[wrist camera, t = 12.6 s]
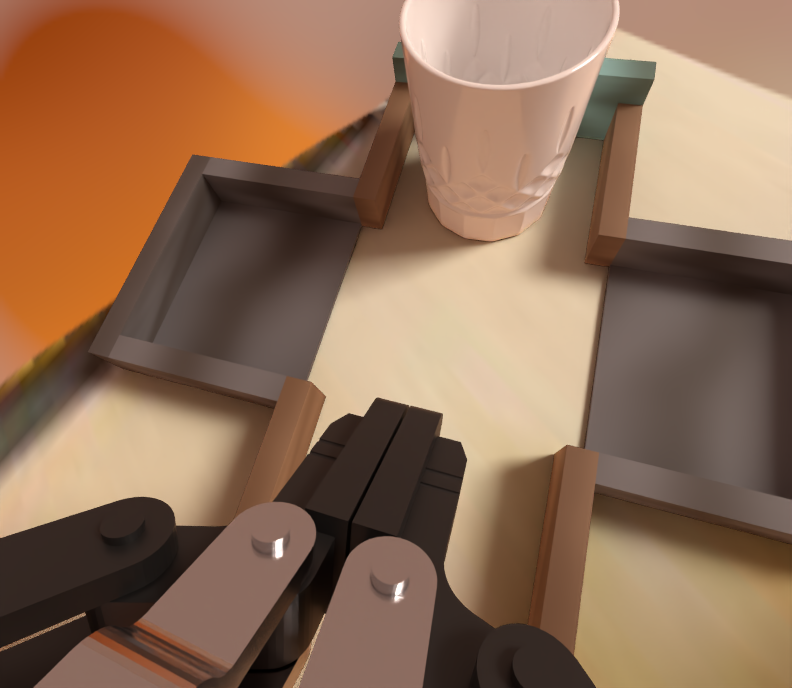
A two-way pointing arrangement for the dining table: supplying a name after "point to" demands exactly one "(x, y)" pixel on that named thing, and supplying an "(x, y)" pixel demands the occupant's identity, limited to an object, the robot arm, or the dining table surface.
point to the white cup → (499, 101)
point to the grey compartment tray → (616, 357)
